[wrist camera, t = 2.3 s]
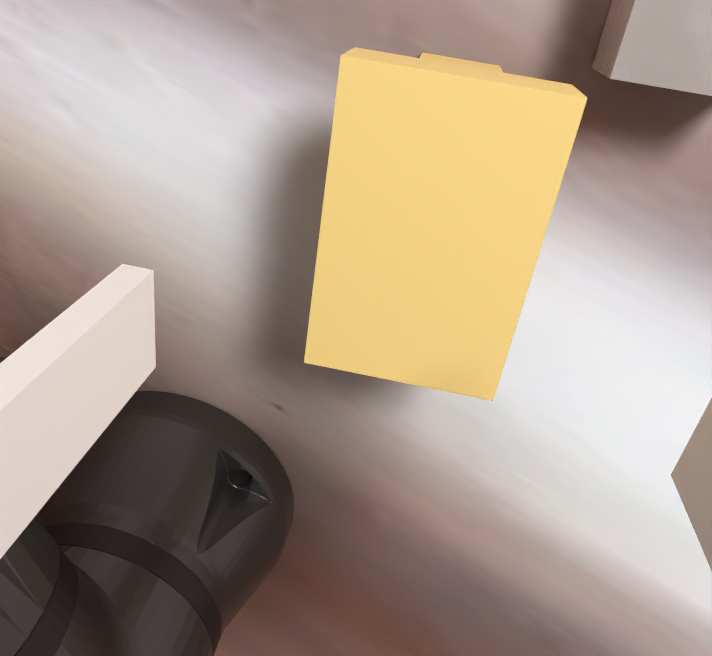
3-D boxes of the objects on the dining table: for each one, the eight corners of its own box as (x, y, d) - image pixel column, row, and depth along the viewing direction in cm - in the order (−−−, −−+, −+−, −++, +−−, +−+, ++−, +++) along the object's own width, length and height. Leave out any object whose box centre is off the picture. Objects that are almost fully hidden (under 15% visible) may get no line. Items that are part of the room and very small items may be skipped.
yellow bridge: (336, 284, 31) (303, 362, 25) (371, 38, 26) (341, 55, 19) (485, 313, 31) (492, 401, 24) (554, 69, 25) (587, 97, 19)
